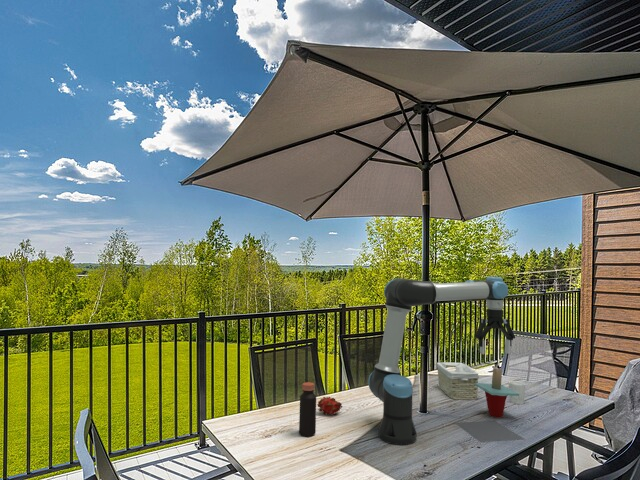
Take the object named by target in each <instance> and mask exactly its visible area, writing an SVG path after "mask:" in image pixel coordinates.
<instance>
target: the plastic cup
mask: <svg viewBox="0 0 640 480" xmlns="http://www.w3.org/2000/svg"><path fill="white" fill-rule="evenodd" d="M484 394H485V399H486V405H487V406H486V407H487V410H488V415H489V416H490V417H493V418H497V419H499V418H502V417H503V416H504V413H505V412H504V411H505V406H506V402H507V398H508V396H507V395H491V394H489V393H488V392H486V391H484Z"/></svg>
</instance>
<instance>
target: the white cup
mask: <svg viewBox="0 0 640 480" xmlns="http://www.w3.org/2000/svg"><path fill="white" fill-rule="evenodd" d="M508 388H509V389H511V390H513V391H515V392H517V393H519V396H509V402H510V403H512V404H515V405H524V404H525V397H526V383H525V382H522V381H517V380H510V381H508Z"/></svg>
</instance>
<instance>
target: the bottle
mask: <svg viewBox="0 0 640 480" xmlns="http://www.w3.org/2000/svg"><path fill="white" fill-rule="evenodd" d="M314 391H315V383H314V382H309V381H308V382H303V383H302V393H301V394H300V395H299V422H298V423H299V425H298V432H299V433H298V435H300V436H301V437H304V438H310V437H314V436H316V432H317V430H316V427H317V395H316V394H315V392H314Z"/></svg>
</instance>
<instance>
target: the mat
mask: <svg viewBox="0 0 640 480" xmlns="http://www.w3.org/2000/svg"><path fill="white" fill-rule="evenodd" d="M454 424H455V425H456V426H458V427H460V428H461V429H462V430H464V432H466V433H468V434H469V435H470V436H472V437H473V438H474V439H475V440H477V441H478V442H480V443H488V442H490V443H491V442H504V441H506V442H507V441H517V440H518V441H521V440H525V438H524V437H522V436H521V435H519V434H517V433H516V432H514V431H513V430H511V429H509V428H507V427H506V426H505V425H503V424H501V423H499V422H498V421H496V420H484V421H483V420H481V421H463V422H454Z"/></svg>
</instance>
